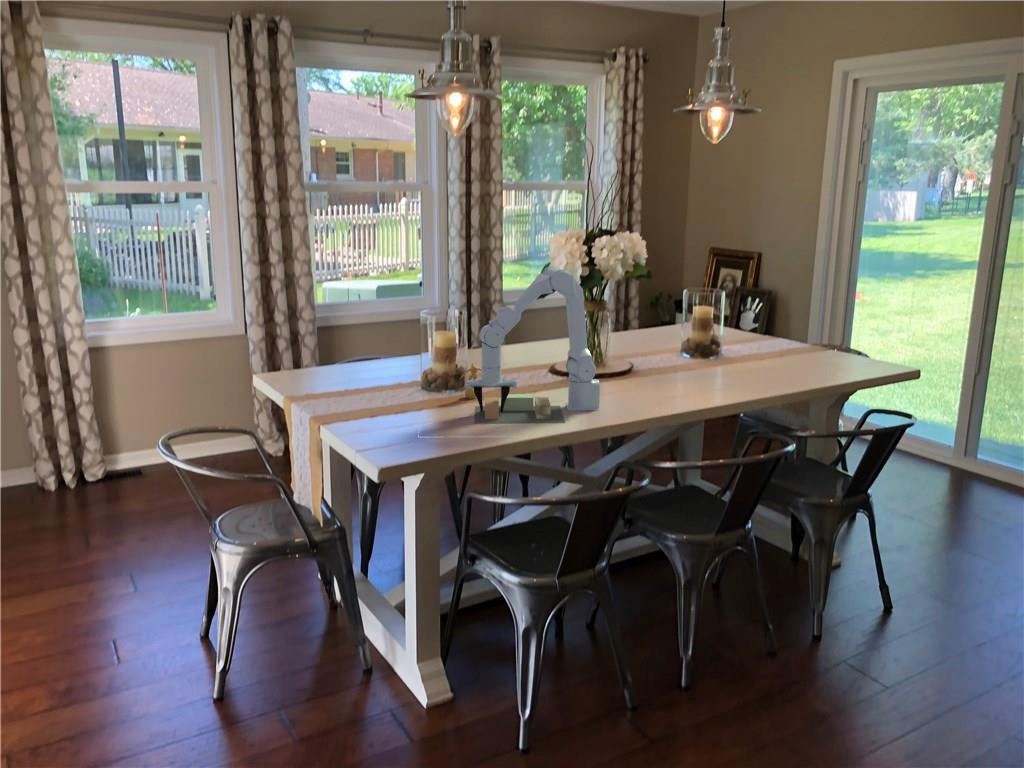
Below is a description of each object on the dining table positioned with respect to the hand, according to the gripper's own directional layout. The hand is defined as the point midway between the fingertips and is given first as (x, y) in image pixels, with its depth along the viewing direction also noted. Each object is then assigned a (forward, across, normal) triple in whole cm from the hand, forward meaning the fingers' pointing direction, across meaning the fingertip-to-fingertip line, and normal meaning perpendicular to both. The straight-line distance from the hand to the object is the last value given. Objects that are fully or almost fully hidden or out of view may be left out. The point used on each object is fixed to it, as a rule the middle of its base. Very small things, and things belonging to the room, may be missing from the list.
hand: (491, 411), depth 246 cm
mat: (+1, +8, 0) cm, 8 cm away
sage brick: (+1, +8, +6) cm, 10 cm away
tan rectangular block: (+1, 0, 0) cm, 1 cm away
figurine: (+2, -6, +18) cm, 19 cm away
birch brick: (+1, +15, 0) cm, 15 cm away
